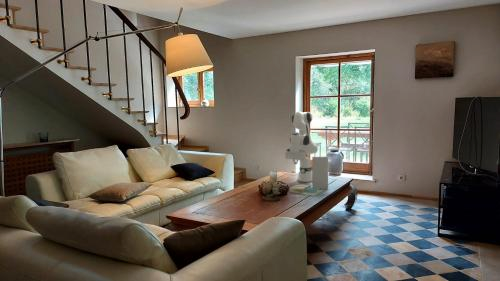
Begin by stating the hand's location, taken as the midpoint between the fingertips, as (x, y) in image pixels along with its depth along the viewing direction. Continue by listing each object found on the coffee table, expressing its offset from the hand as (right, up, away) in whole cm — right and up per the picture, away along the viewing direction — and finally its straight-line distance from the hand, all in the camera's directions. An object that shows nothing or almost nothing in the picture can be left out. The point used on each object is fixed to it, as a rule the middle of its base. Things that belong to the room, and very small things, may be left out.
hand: (295, 164), depth 329 cm
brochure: (+24, -24, +2) cm, 34 cm away
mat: (+14, -25, -13) cm, 32 cm away
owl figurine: (-25, -28, -31) cm, 49 cm away
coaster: (+13, -25, -12) cm, 30 cm away
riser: (+4, -25, -5) cm, 25 cm away
